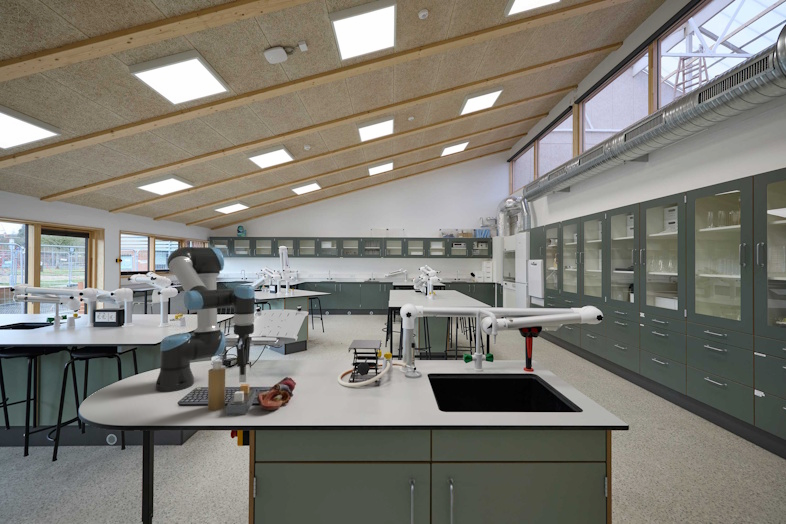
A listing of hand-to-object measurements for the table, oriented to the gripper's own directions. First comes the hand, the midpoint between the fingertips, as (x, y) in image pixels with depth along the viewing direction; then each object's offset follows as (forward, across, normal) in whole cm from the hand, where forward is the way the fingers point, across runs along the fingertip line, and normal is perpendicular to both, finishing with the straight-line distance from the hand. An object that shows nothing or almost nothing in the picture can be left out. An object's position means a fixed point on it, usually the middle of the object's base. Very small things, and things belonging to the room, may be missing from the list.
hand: (243, 381), depth 141 cm
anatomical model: (+10, +3, +14) cm, 17 cm away
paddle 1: (+6, +6, 0) cm, 8 cm away
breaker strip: (+9, -1, 0) cm, 9 cm away
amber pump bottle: (+9, +2, -9) cm, 13 cm away
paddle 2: (+6, -2, 0) cm, 6 cm away
